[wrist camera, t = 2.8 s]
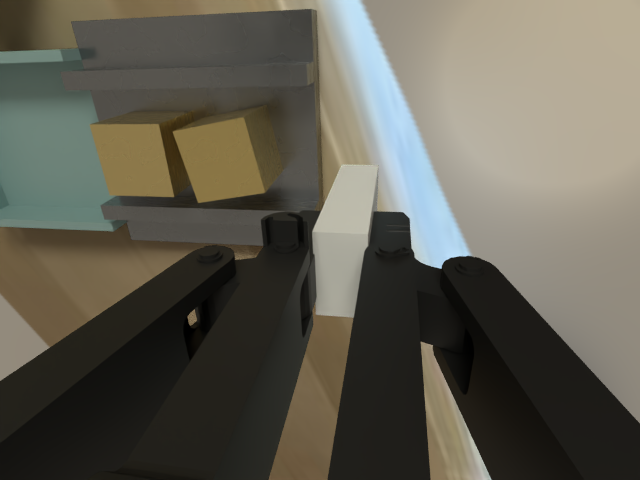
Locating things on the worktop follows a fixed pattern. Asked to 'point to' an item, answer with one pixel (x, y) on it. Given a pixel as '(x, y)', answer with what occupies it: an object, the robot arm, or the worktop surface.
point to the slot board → (211, 107)
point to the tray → (48, 146)
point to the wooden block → (142, 153)
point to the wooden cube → (230, 154)
